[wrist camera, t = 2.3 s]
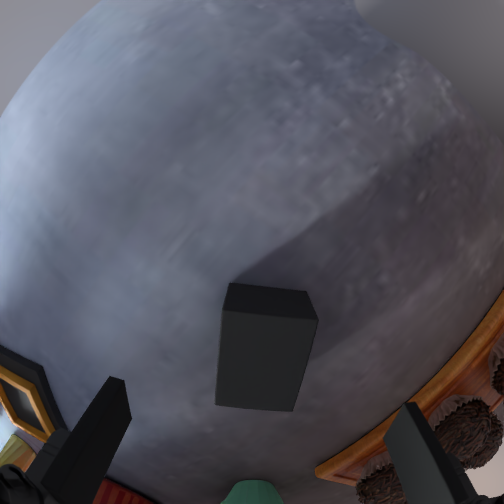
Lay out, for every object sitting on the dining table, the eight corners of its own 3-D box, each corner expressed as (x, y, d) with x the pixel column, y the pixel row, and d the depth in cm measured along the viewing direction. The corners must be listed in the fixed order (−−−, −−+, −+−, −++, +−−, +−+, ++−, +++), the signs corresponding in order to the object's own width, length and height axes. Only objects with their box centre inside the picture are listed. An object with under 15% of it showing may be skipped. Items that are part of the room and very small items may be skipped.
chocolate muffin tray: (510, 274, 17) (570, 306, 9) (534, 345, 20) (569, 374, 12) (314, 466, 23) (324, 528, 15) (388, 484, 25) (402, 526, 17)
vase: (42, 460, 27) (13, 509, 13) (24, 451, 28) (-5, 495, 14) (24, 438, 26) (-10, 488, 12) (6, 430, 26) (-26, 474, 12)
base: (-18, 334, 20) (-29, 342, 18) (42, 366, 21) (30, 378, 18) (19, 420, 24) (12, 429, 22) (79, 452, 24) (73, 463, 22)
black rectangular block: (229, 281, 18) (221, 309, 14) (306, 290, 18) (319, 319, 14) (220, 368, 19) (214, 405, 16) (287, 375, 20) (292, 412, 16)
